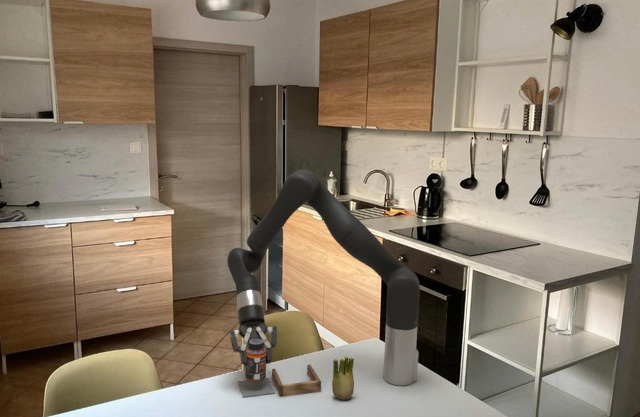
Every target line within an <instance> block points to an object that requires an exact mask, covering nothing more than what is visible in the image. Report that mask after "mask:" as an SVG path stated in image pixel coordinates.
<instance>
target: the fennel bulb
mask: <svg viewBox="0 0 640 417" xmlns="http://www.w3.org/2000/svg"><path fill="white" fill-rule="evenodd" d="M338 360H339V361H338ZM354 360H355V358H354V357H352V356H346V355H345V356H344V357H341V358H340V359H338V358H336V357H335V358H333V362H332V363H333V368H332V369H333V371H332V382H331V383H332V384H331V386H332V389H331V390H332V394H333V396H334V398H337V399H339V400H341V401H347V400H350V399H351V398H352V396H353V394H354V391H355V380H354V370H353V369H354Z"/></svg>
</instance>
